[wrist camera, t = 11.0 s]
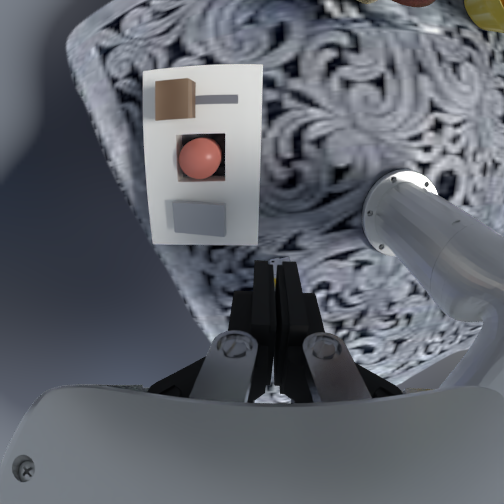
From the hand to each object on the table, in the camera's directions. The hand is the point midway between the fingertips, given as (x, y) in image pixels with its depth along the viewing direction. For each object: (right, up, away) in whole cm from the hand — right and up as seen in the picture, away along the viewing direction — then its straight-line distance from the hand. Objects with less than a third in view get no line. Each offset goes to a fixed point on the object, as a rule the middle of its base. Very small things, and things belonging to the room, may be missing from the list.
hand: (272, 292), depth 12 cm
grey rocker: (-7, +6, +20) cm, 22 cm away
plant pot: (+35, +39, +9) cm, 53 cm away
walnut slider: (-8, +18, +15) cm, 25 cm away
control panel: (-6, +13, +21) cm, 26 cm away
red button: (-6, +12, +19) cm, 24 cm away
